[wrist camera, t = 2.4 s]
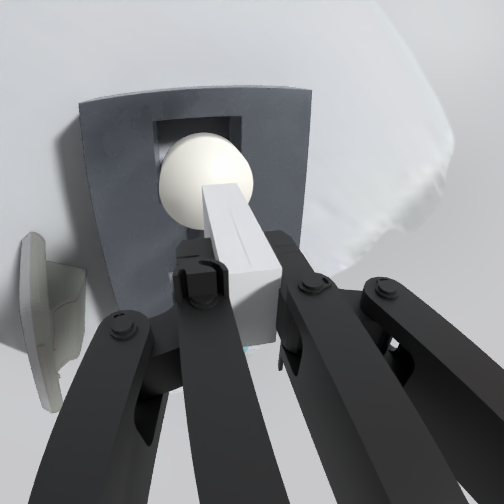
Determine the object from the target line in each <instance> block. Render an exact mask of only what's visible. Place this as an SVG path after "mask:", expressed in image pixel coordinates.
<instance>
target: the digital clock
mask: <svg viewBox="0 0 504 504" xmlns="http://www.w3.org/2000/svg"><path fill="white" fill-rule="evenodd" d="M85 290H86V269H83V268H79V267H74V266H69V265H64V264H59V263H54V262H49V261H46V254H45V240H44V239H43V237H42V236H40V235H39V234H38V233H35V232H30V233H29V234H28V235H27V236H26V237H25V238H24V239H23V240H22V246H21V260H20V283H19V305H20V316H21V322H22V328H23V333H24V338H25V343H26V348H27V353H28V357H29V361H30V365H31V369H32V373H33V377H34V381H35V384H36V388H37V391H38V394H39V398H40V401H41V404H42V407H43V408H44V409H46V410H47V411H49V412H51V413H56V412H58V411H60V410H61V407H62V405H63V400H62V395H61V390H60V385H59V378H60V374H58V371H59V370H60V369H61V367H62V366H64V365H65V364H66V363H67V362H68V361H70V360H73V359H76V358H78V356H79V354H80V351H81V347H82V342H83V337H84V332H85Z"/></svg>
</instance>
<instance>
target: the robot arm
mask: <svg viewBox="0 0 504 504" xmlns="http://www.w3.org/2000/svg"><path fill="white" fill-rule="evenodd" d="M202 202H203V221H204V237H205V238H200V239H189V240H182V241H181V242H180V244H179V245H178V246H177V248H176V258H177V259H176V261H177V267H176V268H175V269H174V272H173V275H172V278H173V284H174V291H175V297H176V302H175V304H174V305H173V306H172V307H171V308H170V309H169V310H167V311H166V312H164V313H162V314H160V315H157V316H154V317H151V318H147V316H145V315H144V314H142V313H141V312H138V311H134V310H121V311H118V312H115V313H112V314H111V315H109V316H108V317H106V318H105V319H104V320H103V321H102V322H101V324H100V325H99V327H98V329H97V331H96V333H95V335H94V337H93V339H92V341H91V343H90V345H89V347H88V349H87V351H86V353H85V355H84V357H83V360H82V362H81V364H80V366H79V368H78V370H77V373H76V375H75V377H74V380H73V382H72V384H71V386H70V388H69V391H68V393H67V396H66V398H65V400H64V403H63V405H62V407H61V410H60V412H59V415H58V417H57V420H56V422H55V425H54V428H53V430H52V433H51V435H50V438H49V441H48V443H47V446H46V449H45V452H44V455H43V457H42V461H41V463H40V466H39V469H38V472H37V475H36V479H35V482H34V485H33V488H32V491H31V495H30V498H29V502H28V504H147V502H148V495H149V490H150V484H151V479H152V474H153V468H154V463H155V458H156V453H157V448H158V442H159V438H160V432H161V428H162V423H163V418H164V414H165V408H166V404H167V400H168V395H169V391H172V390H174V389H177V388H179V387H182V386H183V391H184V399H185V408H186V416H187V425H188V432H189V440H190V447H191V453H192V460H193V466H194V473H195V478H196V484H197V489H198V495H199V501H200V504H290V502H289V499H288V496H287V493H286V490H285V487H284V484H283V481H282V478H281V474H280V471H279V468H278V465H277V462H276V459H275V456H274V452H273V449H272V446H271V442H270V439H269V436H268V433H267V429H266V426H265V422H264V419H263V416H262V412H261V409H260V406H259V402H258V399H257V396H256V392H255V389H254V385H253V382H252V378H251V375H250V371H249V368H248V364H247V360H246V357H245V353H244V350H243V347H246V346H253V345H260V344H266V343H272V342H275V341H276V331H277V332H278V334H279V336H280V339H281V345H280V354H279V361H278V369H279V371H281V370H282V368H283V363H284V365H285V368H286V371H287V373H288V376H289V378H290V381H291V384H292V387H293V389H294V392H295V394H296V397H297V400H298V402H299V405H300V408H301V410H302V413H303V416H304V418H305V421H306V424H307V426H308V429H309V431H310V434H311V437H312V439H313V442H314V444H315V447H316V450H317V452H318V455H319V457H320V460H321V462H322V465H323V468H324V470H325V473H326V476H327V478H328V481H329V483H330V486H331V488H332V491H333V493H334V496H335V498H336V501H337V504H469V503H468V501H467V499H466V498H465V496H464V494H463V492H462V490H461V488H460V486H459V484H458V482H459V483H460V484H461V486H462V487H463V488H464V489H465V490H466V491H467V492H468V493H469V494H470V495H471V496H472V497H473V498H474V500H475V501H476V502H477V503H478V504H504V369H502V368H501V367H500V366H499V365H498V364H497V363H496V362H495V361H493V360H492V359H491V358H490V357H489V356H488V355H487V354H486V353H484V352H483V351H482V350H481V349H480V348H479V347H478V346H477V345H475V344H474V343H473V342H472V341H471V340H470V339H468V338H467V337H466V336H465V335H463V334H462V333H461V332H460V331H459V330H458V329H457V328H455V327H454V326H453V325H452V324H451V323H449V322H448V321H447V320H446V319H444V318H443V317H442V316H441V315H440V314H438V313H437V312H436V311H435V310H433V309H432V308H431V307H430V306H429V305H427V304H426V303H425V302H424V301H422V300H421V299H419V298H418V297H417V296H416V295H414V294H413V293H412V292H411V291H410V290H408V289H407V288H406V287H404V286H403V285H402V284H400V283H399V282H397V281H395V280H393V279H389V278H386V277H375V278H371V279H369V280H368V281H366V283H365V285H364V288H363V291H356V290H344V289H338V288H337V286H336V285H335V283H334V282H333V281H332V280H331V279H330V278H329V277H327V276H325V275H323V274H319V273H315V272H314V271H313V269H312V268H311V266H310V265H309V263H308V261H307V260H306V258H305V257H304V255H303V254H302V252H300V249H299V248H298V246H296V243H295V242H294V240H293V239H292V237H291V236H289V235H288V234H286V233H285V232H283V231H281V230H276V231H265V232H263V231H262V229H261V227H260V225H259V223H258V222H257V220H256V218H255V216H254V214H253V212H252V210H251V209H250V207H249V205H248V203H247V201H246V199H245V197H244V196H243V194H242V192H241V190H240V188H239V186H238V185H237V183H227V184H213V185H202ZM392 338H394V339H395V340H396V341H397V342H399V343H400V344H399V346H398V348H394V347H393V346H391V345H390V342H391V340H392ZM457 481H458V482H457Z"/></svg>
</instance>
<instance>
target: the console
mask: <svg viewBox="0 0 504 504" xmlns="http://www.w3.org/2000/svg"><path fill="white" fill-rule="evenodd" d="M311 100H312V90H308V89H301V88H294V87H285V86H251V85H233V86H200V87H183V88H170V89H159V90H150V91H141V92H133V93H126V94H119V95H112V96H106V97H100V98H95V99H92V100H89V101H85V102H82V103H79V114H80V124H81V133H82V142H83V150H84V157H85V164H86V171H87V177H88V183H89V189H90V194H91V200H92V205H93V210H94V215H95V220H96V225H97V229H98V234H99V238H100V242H101V246H102V251H103V255H104V259H105V262H106V266H107V270H108V274H109V277H110V281H111V285H112V288H113V292H114V295H115V298H116V302H117V305H118V308H119V311H121V310H134V311H138V312H141V313H142V314H144V315H145V316H147V318H151V317H154V316H157V315H160V314H162V313H164V312H166V311H167V310H169V309H170V308H171V307H172V306H173V305H174V304H175V302H176V297H175V291H174V284H173V278H172V275H173V274H172V272H174V269H175V268H176V267H177V261H176V259H177V258H176V248H177V246H178V245H179V244H180V242H181V241H182V240H187V233H188V230H189V229H190V228H189V227H186V226H183V225H181V224H180V223H178V222H176V221H175V220H174V219H173V218H172V217H171V216H170V215H169V214H168V213H167V212H166V210H165V209H164V207H163V205H162V202H161V199H160V195H159V180H160V160H159V147H158V131H157V121H161V120H172V119H184V118H198V117H217V116H230V142H231V143H232V144H233V145H234V146H235V147H236V148H237V149H238V151H239V152H240V153H241V154H242V155H243V157H244V158H245V159H246V161H247V162H248V164H249V166H250V169H251V171H252V176H253V191H252V195H251V198H250V201H249V203H248V205H249V207H250V209H251V210H252V212H253V214H254V216H255V218H256V220H257V222H258V223H259V225H260V227H261V229H262V231H263V232H265V231H276V230H281V231H283V232H285V233H286V234H288V235H289V236H291V237H292V239H293V240H294V242H295V243H296V246H298V248H299V244H300V235H301V225H302V215H303V205H304V194H305V183H306V171H307V159H308V146H309V132H310V117H311Z"/></svg>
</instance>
